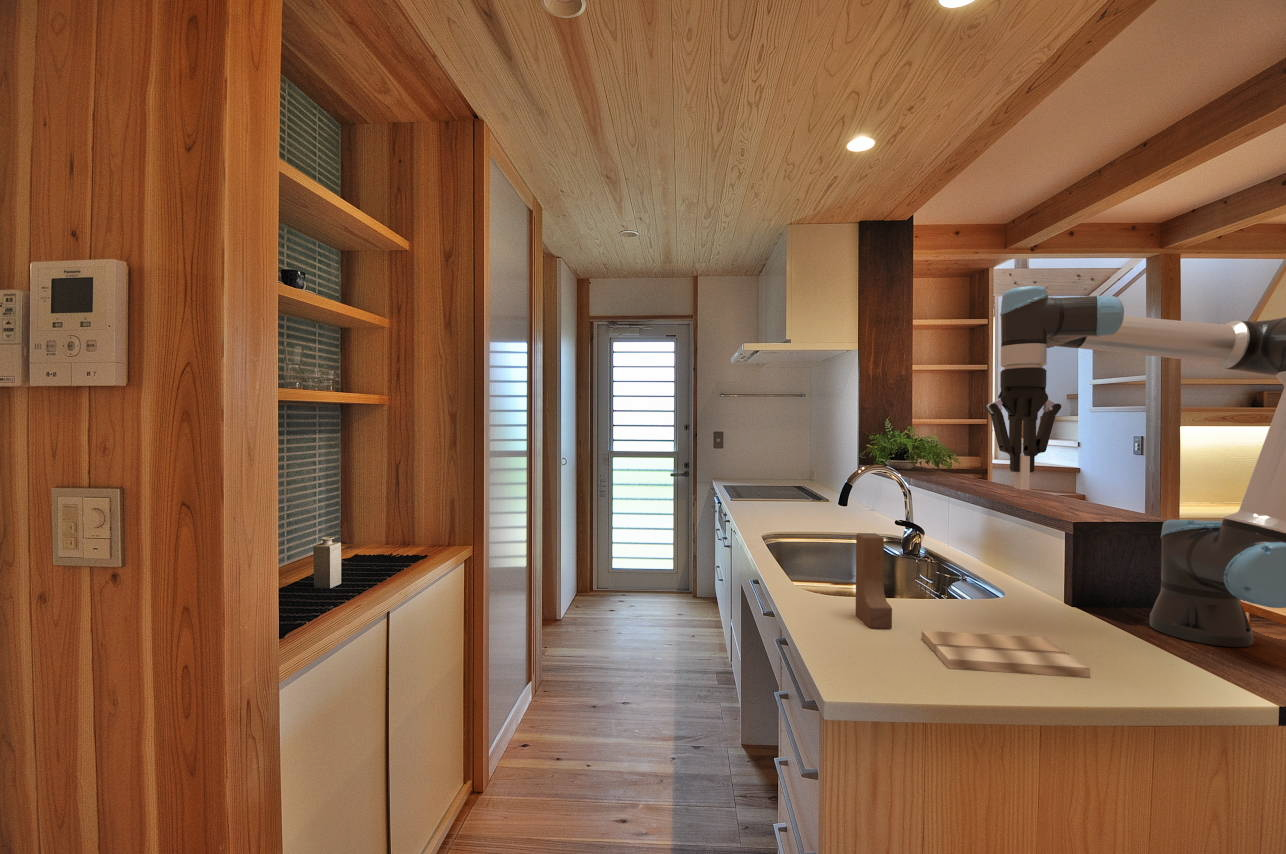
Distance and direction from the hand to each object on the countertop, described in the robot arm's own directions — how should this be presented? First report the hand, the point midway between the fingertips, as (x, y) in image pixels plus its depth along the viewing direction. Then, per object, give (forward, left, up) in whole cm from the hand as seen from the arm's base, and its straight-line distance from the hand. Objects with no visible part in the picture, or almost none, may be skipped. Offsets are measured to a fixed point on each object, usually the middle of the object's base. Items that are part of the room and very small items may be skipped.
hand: (1021, 489), depth 113 cm
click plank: (+8, +6, -29) cm, 31 cm away
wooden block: (+26, -6, -30) cm, 40 cm away
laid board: (+8, +14, -29) cm, 33 cm away
